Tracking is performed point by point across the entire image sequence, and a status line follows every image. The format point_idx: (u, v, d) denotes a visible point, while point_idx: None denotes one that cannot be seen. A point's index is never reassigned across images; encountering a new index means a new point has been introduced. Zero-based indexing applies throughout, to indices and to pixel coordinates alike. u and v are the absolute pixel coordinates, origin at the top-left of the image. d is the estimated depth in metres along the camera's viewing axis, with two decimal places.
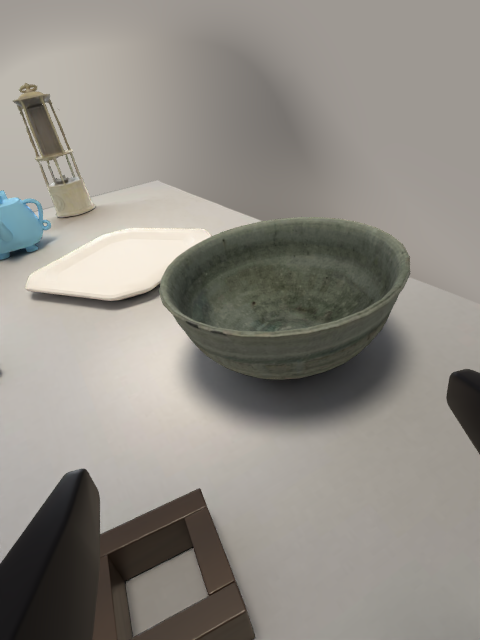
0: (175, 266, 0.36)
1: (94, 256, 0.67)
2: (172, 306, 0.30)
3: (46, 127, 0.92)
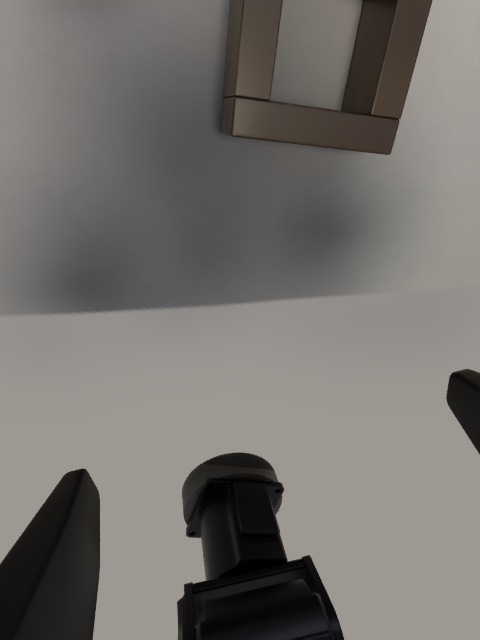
0: None
1: None
2: None
3: None
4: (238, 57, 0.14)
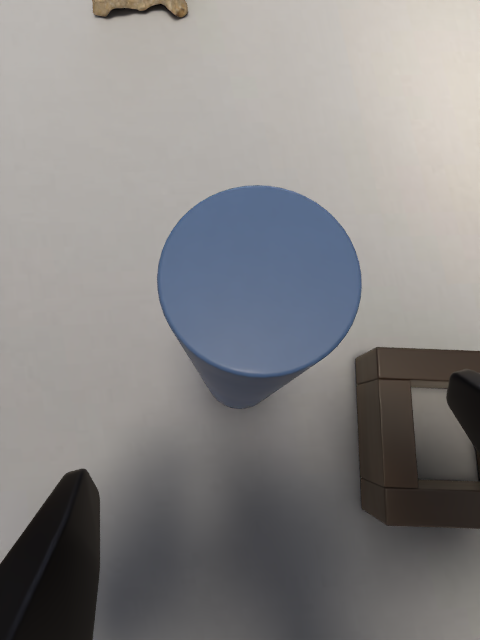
0: None
1: None
2: None
3: None
4: (383, 455, 0.16)
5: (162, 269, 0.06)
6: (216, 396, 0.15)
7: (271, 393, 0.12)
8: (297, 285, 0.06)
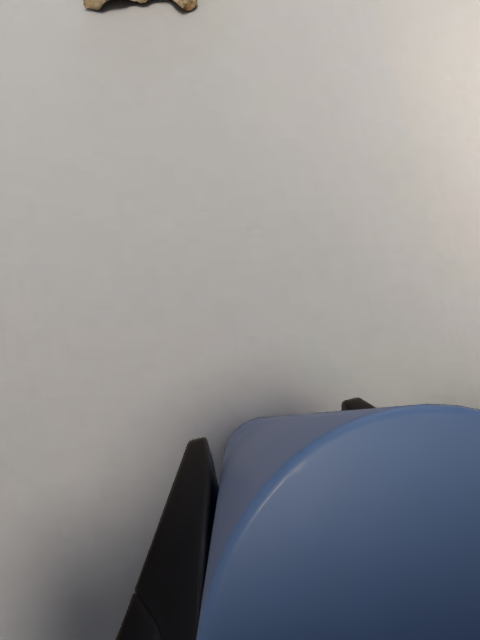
0: None
1: None
2: None
3: None
4: None
5: None
6: None
7: None
8: None
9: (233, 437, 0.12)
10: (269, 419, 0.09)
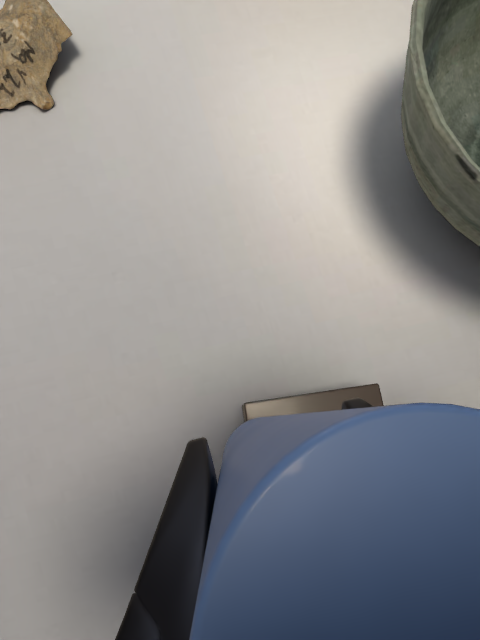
0: None
1: None
2: (436, 103, 0.17)
3: None
4: None
5: None
6: None
7: None
8: None
9: (232, 437, 0.12)
10: (267, 419, 0.09)
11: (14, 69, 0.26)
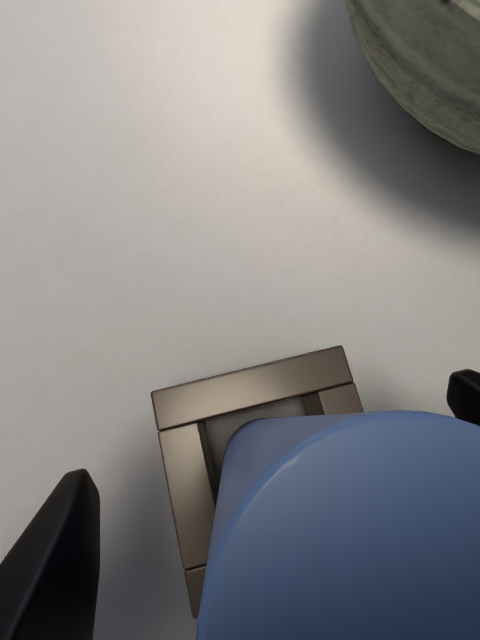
0: None
1: None
2: None
3: None
4: (176, 529, 0.12)
5: None
6: None
7: None
8: None
9: (233, 438, 0.13)
10: (267, 421, 0.09)
11: None
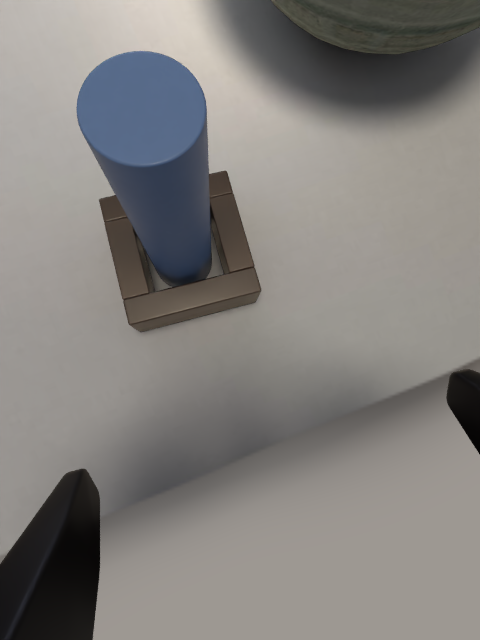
0: None
1: None
2: None
3: None
4: (117, 277, 0.20)
5: (79, 102, 0.10)
6: (157, 265, 0.20)
7: (186, 240, 0.16)
8: (164, 113, 0.10)
9: None
10: None
11: None
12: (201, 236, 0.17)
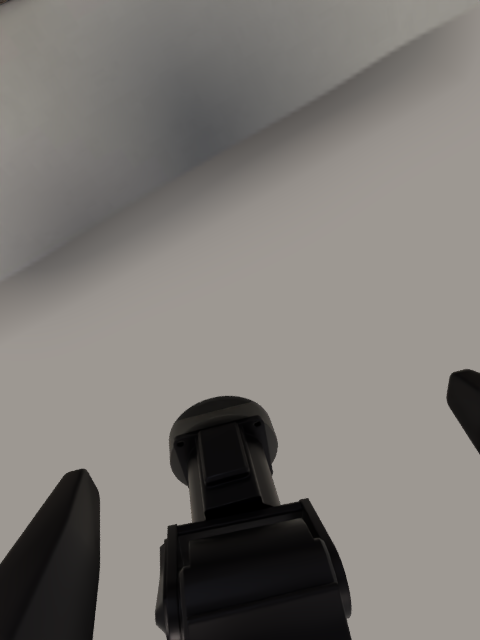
0: None
1: None
2: None
3: None
4: None
5: None
6: None
7: None
8: None
9: None
10: None
11: None
12: None
